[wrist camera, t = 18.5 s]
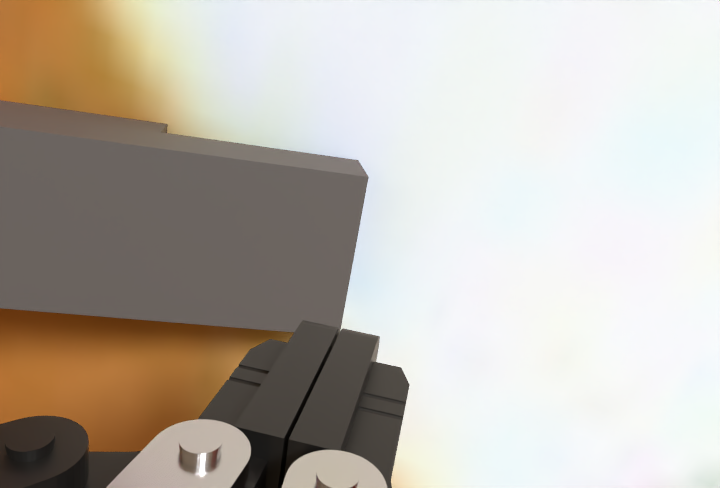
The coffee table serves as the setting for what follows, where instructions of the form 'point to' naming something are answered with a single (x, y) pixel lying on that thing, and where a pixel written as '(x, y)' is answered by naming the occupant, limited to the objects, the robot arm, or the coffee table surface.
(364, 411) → the robot arm
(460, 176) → the coffee table surface
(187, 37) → the coffee table surface
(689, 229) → the coffee table surface
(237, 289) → the domino
